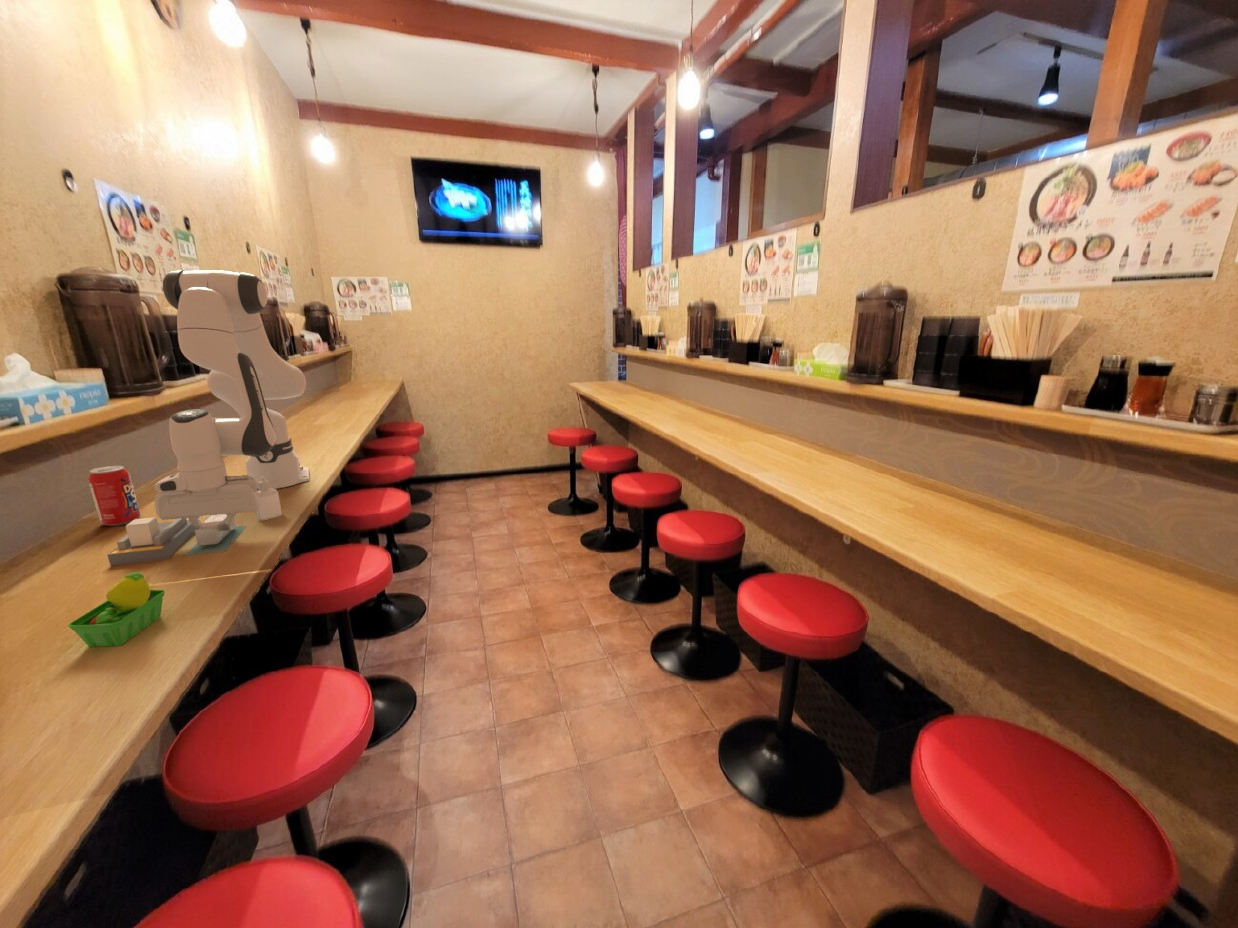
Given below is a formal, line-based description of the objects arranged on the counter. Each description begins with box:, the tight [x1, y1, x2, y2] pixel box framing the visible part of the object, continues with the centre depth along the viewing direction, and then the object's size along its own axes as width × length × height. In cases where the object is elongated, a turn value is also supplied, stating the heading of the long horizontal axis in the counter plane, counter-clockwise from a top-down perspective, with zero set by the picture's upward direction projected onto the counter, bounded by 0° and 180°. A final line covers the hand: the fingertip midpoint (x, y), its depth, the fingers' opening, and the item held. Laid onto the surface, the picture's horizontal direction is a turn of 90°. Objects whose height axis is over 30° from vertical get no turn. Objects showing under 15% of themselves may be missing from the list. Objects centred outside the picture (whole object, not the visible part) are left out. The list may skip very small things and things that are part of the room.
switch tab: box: [125, 516, 160, 547], centre depth 116 cm, size 4×4×5 cm
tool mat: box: [184, 524, 248, 557], centre depth 125 cm, size 16×8×1 cm, turn 20°
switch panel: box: [107, 518, 197, 567], centre depth 121 cm, size 18×10×5 cm, turn 20°
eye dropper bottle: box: [255, 477, 283, 521], centre depth 138 cm, size 4×6×12 cm
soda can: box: [87, 465, 142, 527], centre depth 133 cm, size 8×8×15 cm
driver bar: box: [194, 514, 237, 546], centre depth 125 cm, size 12×4×4 cm, turn 20°
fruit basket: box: [67, 572, 166, 648], centre depth 88 cm, size 11×9×11 cm
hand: (216, 530), depth 125 cm, fingers closed on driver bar, 4 cm apart
